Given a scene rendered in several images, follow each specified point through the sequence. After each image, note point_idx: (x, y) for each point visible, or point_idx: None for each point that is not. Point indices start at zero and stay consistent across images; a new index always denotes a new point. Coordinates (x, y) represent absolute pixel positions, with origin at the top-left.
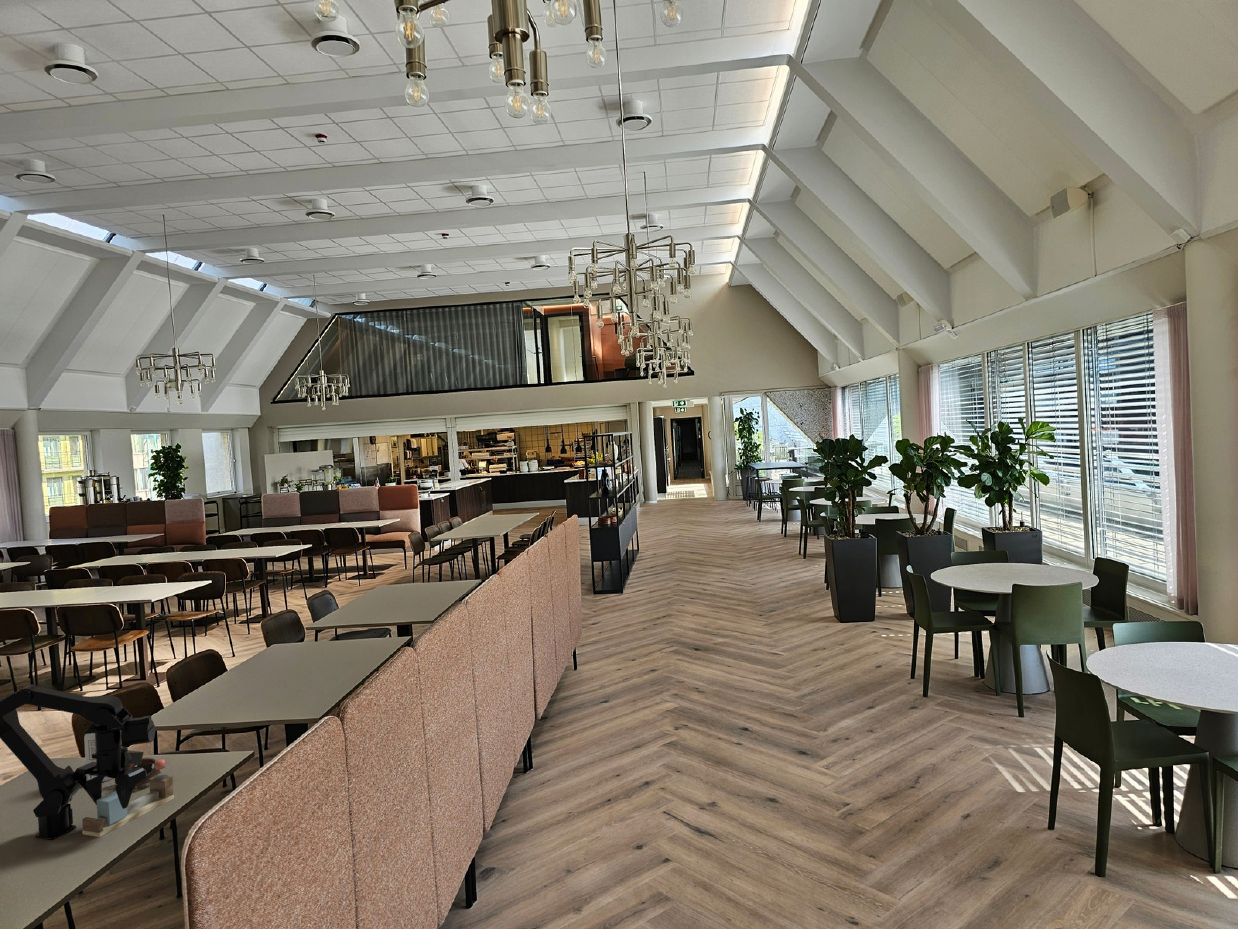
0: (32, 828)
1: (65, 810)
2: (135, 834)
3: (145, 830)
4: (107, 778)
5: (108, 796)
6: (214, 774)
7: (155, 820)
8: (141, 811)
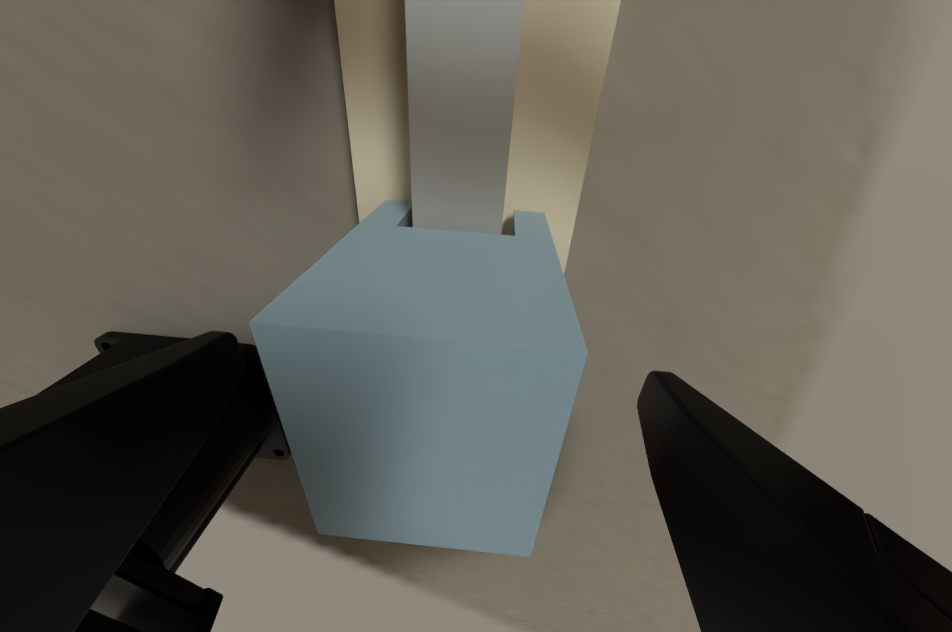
0: (16, 369)
1: (155, 520)
2: (759, 364)
3: (814, 312)
4: None
5: (354, 461)
6: None
7: (831, 144)
8: (607, 60)
